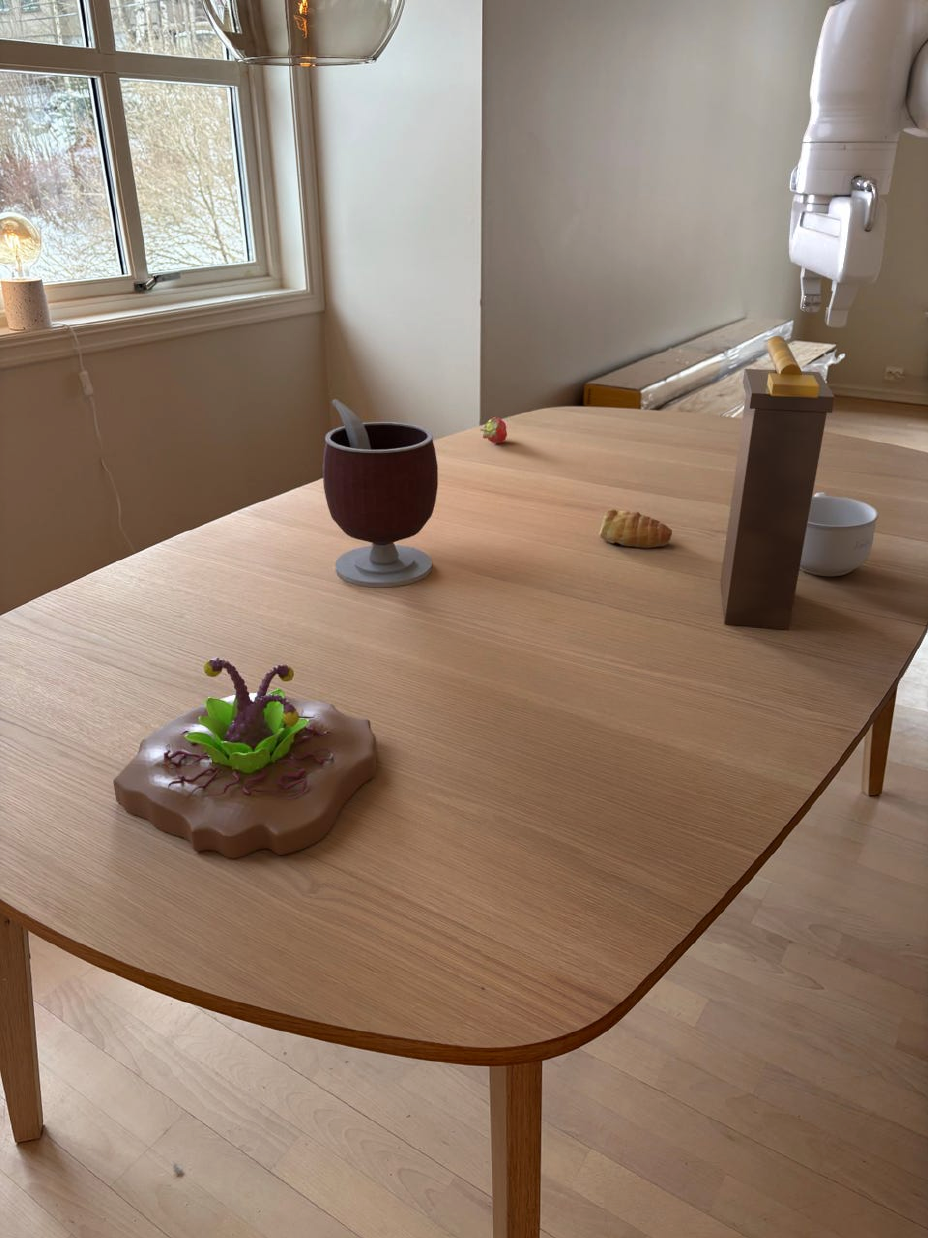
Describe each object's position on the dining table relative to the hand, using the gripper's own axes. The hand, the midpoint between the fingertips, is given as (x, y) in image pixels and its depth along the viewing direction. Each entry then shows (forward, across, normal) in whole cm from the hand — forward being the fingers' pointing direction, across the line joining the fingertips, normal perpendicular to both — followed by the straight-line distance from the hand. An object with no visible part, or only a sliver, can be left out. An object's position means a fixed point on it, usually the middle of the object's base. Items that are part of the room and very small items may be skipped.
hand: (821, 318), depth 101 cm
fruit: (+32, +62, +36) cm, 78 cm away
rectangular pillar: (+32, -4, +4) cm, 32 cm away
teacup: (+32, +9, -8) cm, 34 cm away
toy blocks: (+6, -1, +3) cm, 7 cm away
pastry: (+32, +16, +16) cm, 39 cm away
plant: (+32, -41, +54) cm, 75 cm away
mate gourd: (+32, +4, +49) cm, 59 cm away
